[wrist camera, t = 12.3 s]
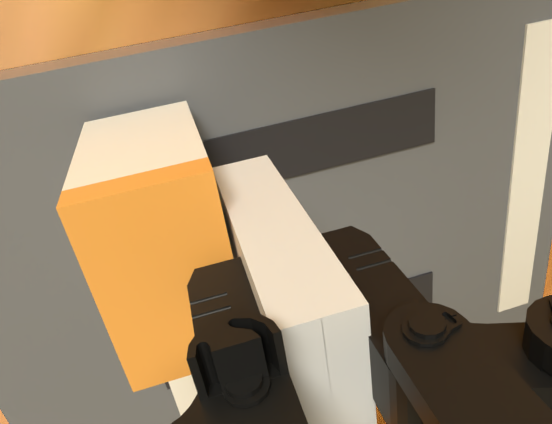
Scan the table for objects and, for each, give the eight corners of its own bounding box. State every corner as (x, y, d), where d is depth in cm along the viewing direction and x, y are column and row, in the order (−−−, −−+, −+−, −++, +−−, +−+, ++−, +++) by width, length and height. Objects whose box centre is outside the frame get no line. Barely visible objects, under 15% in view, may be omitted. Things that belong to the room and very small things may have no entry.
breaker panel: (550, -36, 18) (648, -37, 15) (512, 296, 26) (570, 347, 22) (-146, 98, 14) (-235, 139, 11) (51, 439, 22) (36, 527, 19)
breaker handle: (186, 100, 14) (213, 171, 9) (219, 240, 17) (255, 355, 12) (83, 122, 14) (56, 208, 9) (133, 262, 16) (132, 392, 11)
